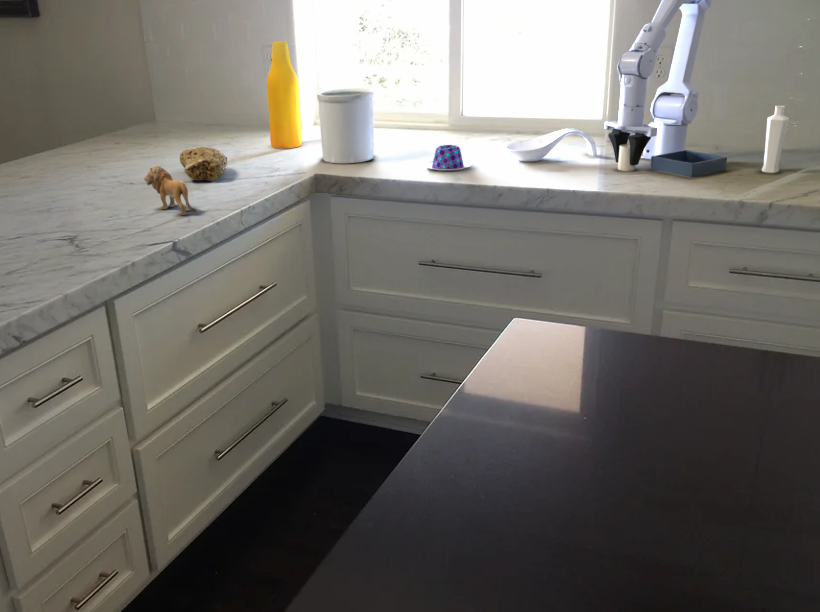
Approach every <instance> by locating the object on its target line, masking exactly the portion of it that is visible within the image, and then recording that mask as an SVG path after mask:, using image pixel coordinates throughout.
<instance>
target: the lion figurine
mask: <svg viewBox="0 0 820 612" xmlns="http://www.w3.org/2000/svg"><path fill="white" fill-rule="evenodd" d="M143 180H144V182H146V185H147V186H151V187H152V188H153V189H154V190H156V193H157V194H159V196H160V200H161V203H162V205H161V206H160V210H166V209H168V203H167V196H169V207H170V208H173V207H176V204H177V205H178V207H179V208H180V211H179V216H184V215H186V214H187V213H186V211H187V212H188V211H191V212H192V213H198V210H196V209H195V208H193V207H192V205H190V202H189V189H188V187H187V184H186V183H185V182H184V181H183V180H174V179H173V177H172V175H171V174H170V172H168V171H167V170H166V169H165V168H162V167H161V166H158V165H153V166H150V167H149V172H147V174H146V175H145V177H144V178H143ZM181 197H183V200H184V202H185V204H184V203H183V202H182V198H181Z"/></svg>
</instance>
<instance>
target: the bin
mask: <svg viewBox="0 0 820 612" xmlns="http://www.w3.org/2000/svg"><path fill="white" fill-rule="evenodd" d="M727 163H728V156H724V155H717V154H712V153H711V154H710V153H705V152H699V151H693V150H687V149H685V150H683V151H677V152H672V153H666V154H661V155H656V156H651V159H650V167H649V170H654V171H659V172H664V173H668V174H673V175H677V176H683V177H688V178H694V177H699V176H703V175H704V176H705V175H708V174H709V175H710V174H715V173H718V172H719V173H720V172H724V171H726V170H727Z"/></svg>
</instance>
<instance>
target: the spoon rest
mask: <svg viewBox="0 0 820 612" xmlns="http://www.w3.org/2000/svg"><path fill="white" fill-rule="evenodd" d="M571 135H577V136H580V137H581V138H583V139H584V140H585V142H586V152H587V154H588V155H589V156H592V157H596V156H597V150H598V149H597V145H596V142H595V141H594V139H593V137H592V136H591V135H590V134H589V133H587V132H585V131H583V130H581V129H578V128H573V127H567V128H562V129H559V130H556V131H553V132H550V133H547V134H544V135H540V136H537V137H533V138H529V139H523V140H519V141H513V142H510V143H508V144H506V145H505V146H504V149H505V151H506V153H507V154H508V155H509V156H510V157H511V158H512V159H514V160H517V161H519V162H529V163H531V162H539V161H541V160H543V158H544V157H546V156H547V155H548V154H549V153H550V152H551V150H552V149H554V147H556V145H557V144H558V143H559V142H561V140H563V139H565V138H566V137H568V136H571Z"/></svg>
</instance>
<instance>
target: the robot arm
mask: <svg viewBox="0 0 820 612" xmlns="http://www.w3.org/2000/svg"><path fill="white" fill-rule="evenodd" d="M712 3H713V0H661V1H660V4H659V5H658V8H657V9H656V12H655V14H654V16H653V18H652V20H651V22H648V23H645V24H644V25H643V27H642V28H641V30H640V32H639V34H638V35H637V37H636V39H635V41H634V42H633V44H632V46H631V47H630V49H629V50H628V51H626V52H624V53H623V54H622V55H620V58H619V60H618V63H617V64H616V70H617V73H618V74H617V75H618V80H619V81H618V82H619V85H620V95H619V105H618V118H617V119H618V120H605V121H604V123H603V125H604V127H603V129H604V130H606V131H609V130H610V131H611V132H609V133H607V137H608V138H609V141H610V143H611V145H612V149H613V153H614V160H615V163H617V164H618V159H619V148H620V145H622V144H630V165H632V166H633V165H635V166H639V163H640V161H641V159H649V160H651V156H656V155H661V154H666V153H672V152H677V151H683V150H686V143H687V134H688V126H689V124H691V122H693V120H694V119H695V118H696V117H697V115H698V108H699V105H698V100H699V92H698V90H697V89H696V88H695V87H694V86H693V85H692V83H691V81H692V76H693V72H694V68H695V63H696V59H697V54H698V50H699V46H700V41H701V38H702V32H703V28H704V24H705V20H706V15H707V12H708V11H707V10H708V9H710V8H711V6H712ZM679 10H680V12H681V14H682V16H681V21H680V26H679V30H678V34H677V39H676V43H675V47H674V52H673V57H672V62H671V65H670V70H669V75H668V79H667V81H666V82H665V83H663V84H662V85H660V86H659V87H658V88H657V89H656V93H655V96H654V97H653V100H652V102H651V105H650V114H651V117H652V119H654V121H651V122H650V123H649V124H644V120H645V119H644V118H645V111H646V109H645V108H646V100H647V99H646V97H647V87H648V80H649V79H648V78H649V77H651V75H652V74H653V72H654V70H655V66H656V61H657V58H658V57H657V54H658V52H659V51H660V48H661V47H662V45H663V43H664V42H665V40H666V39H667V34H668V33H667V31H666V29H667V27H668V26H669V24H670V23H671V21H672V20H673V19H674V17H675V16H676V14H677V13H678V11H679ZM628 142H629V143H628Z"/></svg>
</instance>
